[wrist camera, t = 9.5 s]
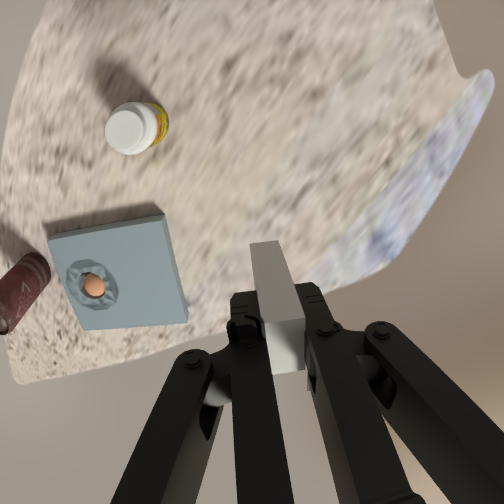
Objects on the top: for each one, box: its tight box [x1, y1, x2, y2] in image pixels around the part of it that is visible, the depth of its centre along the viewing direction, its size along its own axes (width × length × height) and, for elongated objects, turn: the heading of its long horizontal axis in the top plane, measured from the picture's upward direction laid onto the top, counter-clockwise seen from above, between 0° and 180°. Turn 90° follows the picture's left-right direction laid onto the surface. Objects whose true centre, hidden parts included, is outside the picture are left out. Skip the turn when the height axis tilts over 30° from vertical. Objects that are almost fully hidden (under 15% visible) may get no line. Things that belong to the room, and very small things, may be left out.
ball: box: [84, 273, 106, 296], centre depth 42 cm, size 4×4×4 cm
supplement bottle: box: [105, 102, 169, 155], centre depth 31 cm, size 6×6×10 cm
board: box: [47, 214, 189, 330], centre depth 43 cm, size 16×18×2 cm
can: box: [0, 253, 51, 335], centre depth 36 cm, size 6×6×14 cm
